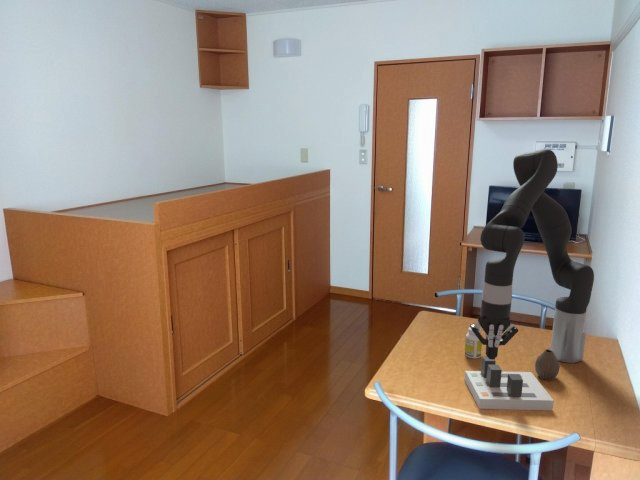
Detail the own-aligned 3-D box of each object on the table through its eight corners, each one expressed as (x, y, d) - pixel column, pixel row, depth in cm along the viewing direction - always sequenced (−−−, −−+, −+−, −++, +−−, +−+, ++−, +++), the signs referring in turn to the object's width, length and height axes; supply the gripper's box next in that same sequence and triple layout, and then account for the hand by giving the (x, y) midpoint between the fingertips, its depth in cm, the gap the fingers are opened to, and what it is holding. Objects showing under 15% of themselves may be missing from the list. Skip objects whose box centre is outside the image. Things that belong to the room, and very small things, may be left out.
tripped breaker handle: (517, 390, 138) (518, 374, 136) (521, 396, 134) (523, 380, 133) (506, 390, 138) (508, 374, 137) (510, 396, 135) (512, 379, 133)
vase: (556, 373, 154) (559, 347, 153) (559, 383, 148) (562, 357, 146) (533, 370, 157) (535, 344, 155) (534, 380, 150) (537, 353, 148)
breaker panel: (530, 381, 150) (532, 355, 148) (552, 410, 134) (556, 382, 132) (464, 379, 150) (466, 354, 148) (479, 408, 135) (481, 380, 133)
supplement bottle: (479, 352, 169) (481, 325, 167) (482, 359, 164) (484, 332, 162) (463, 351, 170) (465, 325, 167) (466, 358, 164) (468, 331, 162)
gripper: (516, 294, 134) (510, 352, 137) (468, 293, 134) (463, 351, 138) (526, 304, 126) (520, 365, 130) (475, 302, 127) (470, 363, 131)
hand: (490, 358), depth 134 cm, fingers closed
